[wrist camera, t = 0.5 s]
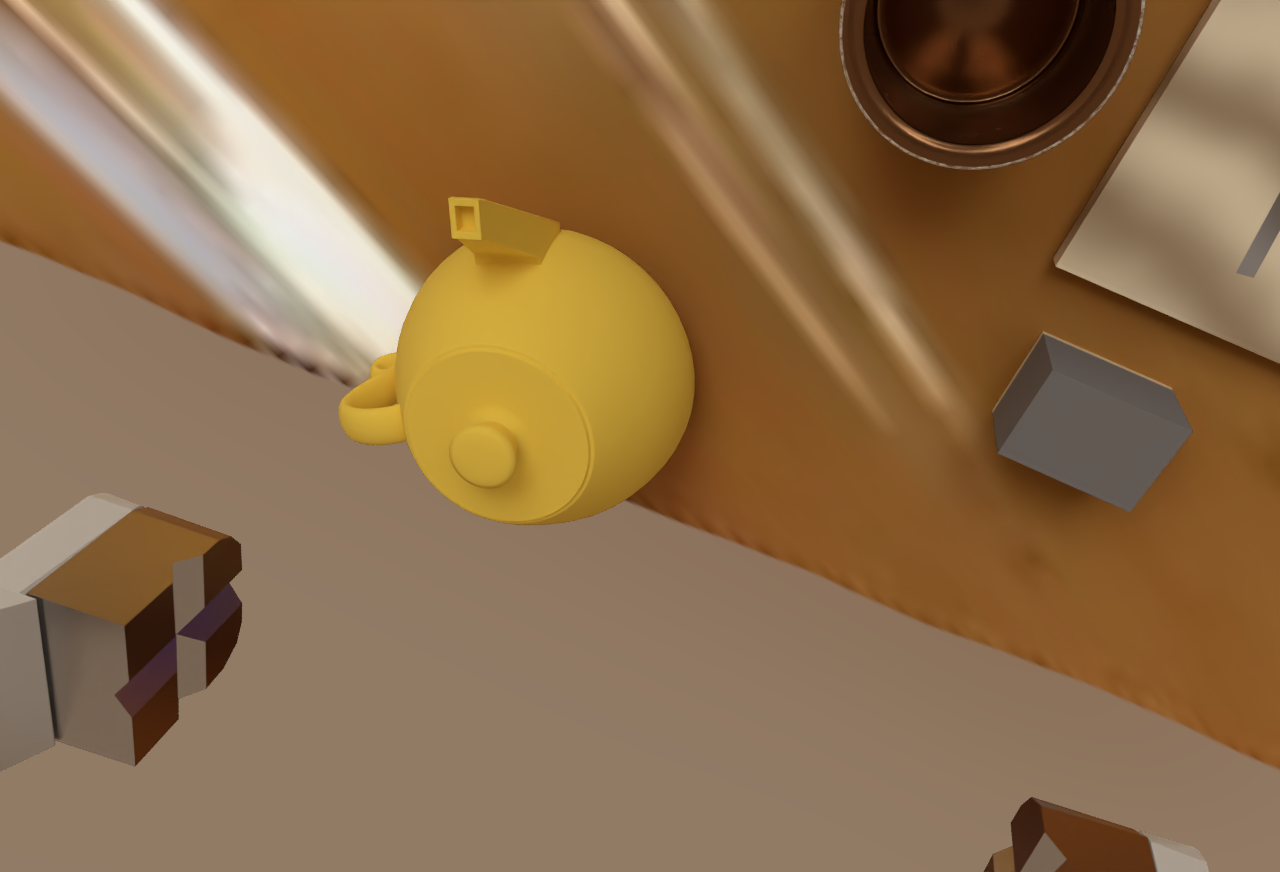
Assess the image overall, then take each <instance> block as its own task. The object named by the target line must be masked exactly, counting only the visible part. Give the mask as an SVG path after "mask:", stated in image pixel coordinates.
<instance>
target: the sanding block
mask: <svg viewBox="0 0 1280 872" xmlns="http://www.w3.org/2000/svg"><path fill="white" fill-rule="evenodd" d="M992 413H993V421H994V429H995V437H996V445H997V453H998V454H1000V455H1002V456H1004V457H1006V458H1009V459H1011V460H1013V461H1015V462H1018V463H1020V464H1022V465H1025V466H1027V467H1029V468H1031V469H1034V470H1036V471H1038V472H1040V473H1043V474H1045V475H1047V476H1049V477H1052V478H1054V479H1056V480H1058V481H1061V482H1063V483H1065V484H1067V485H1070V486H1072V487H1074V488H1076V489H1079V490H1081V491H1083V492H1085V493H1088V494H1090V495H1092V496H1094V497H1097V498H1099V499H1101V500H1103V501H1106V502H1108V503H1110V504H1112V505H1115V506H1117V507H1119V508H1121V509H1124V510H1126V511H1128V512H1131V510H1132V509H1133V508H1134V507H1135V505H1136V504H1137V503H1138V501H1139V500H1140V499H1141V498H1142V496H1143V495H1144V494H1145V492H1146V491H1147V490H1148V489H1149V487H1150V486H1151V485H1152V483H1153V482H1154V481H1155V480H1156V478H1157V477H1158V476H1159V474H1160V473H1161V472H1162V471H1163V469H1164V468H1165V467H1166V465H1167V464H1168V463H1169V462H1170V460H1171V459H1172V458H1173V456H1174V455H1175V454H1176V453H1177V451H1178V450H1179V449H1180V447H1181V446H1182V445H1183V444H1184V442H1185V441H1186V440H1187V438H1188V437H1189V436H1190V435H1191V433H1192V432H1193V431H1192V429H1191V427H1190V425H1189V423H1188V420H1187V418H1186V416H1185V414H1184V412H1183V410H1182V408H1181V406H1180V404H1179V402H1178V400H1177V398H1176V396H1175V394H1174V392H1173V390H1172V388H1171V387H1170V386H1167V385H1165V384H1163V383H1160V382H1158V381H1156V380H1154V379H1151V378H1149V377H1147V376H1144V375H1142V374H1140V373H1138V372H1135V371H1133V370H1131V369H1128V368H1126V367H1124V366H1122V365H1119V364H1117V363H1115V362H1112V361H1110V360H1108V359H1106V358H1103V357H1101V356H1099V355H1096V354H1094V353H1092V352H1090V351H1087V350H1085V349H1083V348H1081V347H1078V346H1076V345H1074V344H1071V343H1069V342H1067V341H1065V340H1062V339H1060V338H1058V337H1055V336H1053V335H1051V334H1049V333H1046V332H1044V331H1042V333H1041V334H1040V336H1039V338H1038V339H1037V341H1036V342H1035V344H1034V345H1033V347H1032V349H1031V350H1030V352H1029V353H1028V355H1027V356H1026V358H1025V360H1024V361H1023V363H1022V364H1021V366H1020V367H1019V369H1018V370H1017V372H1016V374H1015V375H1014V377H1013V378H1012V380H1011V381H1010V383H1009V385H1008V386H1007V388H1006V389H1005V391H1004V392H1003V394H1002V396H1001V397H1000V399H999V400H998V402H997V403H996V405H995V406H994V408H993V410H992Z"/></svg>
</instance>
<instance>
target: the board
mask: <svg viewBox="0 0 1280 872" xmlns="http://www.w3.org/2000/svg"><path fill="white" fill-rule="evenodd" d="M1053 261H1054V263H1055V266H1056V267H1058V268H1060V269H1063V270H1065V271H1067V272H1070V273H1072V274H1074V275H1076V276H1079V277H1081V278H1083V279H1086V280H1088V281H1090V282H1093V283H1095V284H1097V285H1099V286H1102V287H1104V288H1106V289H1109V290H1111V291H1113V292H1116V293H1118V294H1120V295H1122V296H1125V297H1127V298H1129V299H1132V300H1134V301H1136V302H1139V303H1141V304H1143V305H1145V306H1148V307H1150V308H1152V309H1155V310H1157V311H1159V312H1162V313H1164V314H1166V315H1169V316H1171V317H1173V318H1175V319H1178V320H1180V321H1182V322H1185V323H1187V324H1189V325H1192V326H1194V327H1196V328H1198V329H1201V330H1203V331H1205V332H1208V333H1210V334H1212V335H1215V336H1217V337H1219V338H1221V339H1224V340H1226V341H1228V342H1231V343H1233V344H1235V345H1238V346H1240V347H1242V348H1244V349H1247V350H1249V351H1251V352H1254V353H1256V354H1258V355H1261V356H1263V357H1265V358H1267V359H1270V360H1272V361H1274V362H1277V363H1279V364H1280V0H1212V1H1211V3H1210V5H1209V6H1208V8H1207V10H1206V11H1205V13H1204V14H1203V16H1202V18H1201V19H1200V21H1199V23H1198V24H1197V26H1196V27H1195V29H1194V31H1193V32H1192V34H1191V36H1190V37H1189V39H1188V40H1187V42H1186V44H1185V45H1184V47H1183V48H1182V50H1181V52H1180V53H1179V55H1178V57H1177V58H1176V60H1175V61H1174V63H1173V65H1172V66H1171V68H1170V70H1169V71H1168V73H1167V74H1166V76H1165V78H1164V79H1163V81H1162V83H1161V84H1160V86H1159V87H1158V89H1157V91H1156V92H1155V94H1154V95H1153V97H1152V99H1151V100H1150V102H1149V104H1148V105H1147V107H1146V108H1145V110H1144V112H1143V113H1142V115H1141V117H1140V118H1139V120H1138V121H1137V123H1136V125H1135V126H1134V128H1133V129H1132V131H1131V133H1130V134H1129V136H1128V138H1127V139H1126V141H1125V142H1124V144H1123V146H1122V147H1121V149H1120V151H1119V152H1118V154H1117V155H1116V157H1115V159H1114V160H1113V162H1112V164H1111V165H1110V167H1109V168H1108V170H1107V172H1106V173H1105V175H1104V176H1103V178H1102V180H1101V181H1100V183H1099V185H1098V186H1097V188H1096V189H1095V191H1094V193H1093V194H1092V196H1091V198H1090V199H1089V201H1088V202H1087V204H1086V206H1085V207H1084V209H1083V211H1082V212H1081V214H1080V215H1079V217H1078V219H1077V220H1076V222H1075V223H1074V225H1073V227H1072V228H1071V230H1070V232H1069V233H1068V235H1067V236H1066V238H1065V240H1064V241H1063V243H1062V245H1061V246H1060V248H1059V249H1058V251H1057V253H1056V254H1055V256H1054V258H1053Z"/></svg>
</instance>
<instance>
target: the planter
mask: <svg viewBox="0 0 1280 872" xmlns="http://www.w3.org/2000/svg"><path fill="white" fill-rule="evenodd" d="M1144 9H1145V0H842V5H841V12H840V21H839V46H840V55H841V62H842V66H843V70H844V74H845V77H846V81H847V84H848V86H849V89H850V91H851V94H852V96H853V98H854V100H855V102H856V103H857V105H858V107H859V108H860V110H861V112H862V113H863V114H864V116H865V117H866V119H867V120H868V121H869V122H870V124H871V125H872V126H873V127H874V128H875V129H876V130H877V131H878V132H879V133H880V134H881V135H882V136H883V137H884V138H885V139H886V140H888V141H889V142H890V143H891V144H893V145H894V146H896V147H897V148H899V149H900V150H902V151H904V152H905V153H907V154H909V155H911V156H913V157H915V158H917V159H920V160H922V161H925V162H927V163H931V164H934V165H938V166H942V167H947V168H954V169H965V170H982V169H992V168H998V167H1004V166H1008V165H1012V164H1016V163H1019V162H1022V161H1025V160H1028V159H1030V158H1033V157H1035V156H1038V155H1040V154H1042V153H1044V152H1046V151H1048V150H1050V149H1052V148H1053V147H1055V146H1057V145H1059V144H1060V143H1062V142H1063V141H1065V140H1066V139H1068V138H1069V137H1070V136H1072V135H1073V134H1074V133H1076V132H1077V131H1078V130H1079V129H1081V128H1082V127H1083V126H1084V125H1085V124H1086V123H1087V122H1088V121H1089V120H1090V119H1091V118H1092V117H1093V116H1094V115H1095V114H1096V113H1097V112H1098V111H1099V110H1100V109H1101V108H1102V106H1103V105H1104V104H1105V103H1106V102H1107V100H1108V99H1109V98H1110V96H1111V95H1112V94H1113V92H1114V91H1115V89H1116V88H1117V86H1118V85H1119V83H1120V81H1121V80H1122V78H1123V76H1124V74H1125V72H1126V70H1127V68H1128V66H1129V64H1130V62H1131V60H1132V57H1133V55H1134V52H1135V49H1136V47H1137V43H1138V40H1139V36H1140V33H1141V28H1142V23H1143V17H1144Z"/></svg>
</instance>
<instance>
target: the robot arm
mask: <svg viewBox="0 0 1280 872" xmlns="http://www.w3.org/2000/svg"><path fill="white" fill-rule="evenodd" d="M241 570H242V559H241V544H240V543H239V542H238V541H236V540H235V539H234V538H232V537H231V536H228V535H226V534H223V533H220V532H217V531H214V530H212V529H209V528H206V527H203V526H200V525H197V524H195V523H192V522H189V521H186V520H183V519H180V518H178V517H175V516H172V515H169V514H166V513H163V512H161V511H158V510H155V509H152V508H149V507H147V508H145V507H143V506H140V505H137V504H134V503H132V502H129V501H126V500H123V499H121V498H118V497H115V496H112V495H110V494H107V493H102V494H96V495H90V496H88V497H86V498H85V499H83V500H82V501H81V502H79V503H78V504H76V505H75V506H74V507H72V508H71V509H69V510H68V511H67V512H65V513H64V514H62V515H61V516H60V517H58V518H57V519H55V520H54V521H53V522H51V523H50V524H48V525H47V526H45V527H44V528H43V529H41V530H40V531H38V532H37V533H36V534H34V535H33V536H31V537H30V538H29V539H27V540H26V541H24V542H23V543H22V544H20V545H19V546H18V547H16V548H14V549H13V550H12V551H10V552H9V553H7V554H6V555H5V556H3V557H2V558H0V772H1V771H3V770H5V769H7V768H9V767H11V766H13V765H15V764H18V763H20V762H22V761H24V760H26V759H28V758H30V757H32V756H34V755H36V754H39V753H41V752H43V751H45V750H47V749H49V748H51V747H53V746H55V741H58V742H62V743H65V744H67V745H71V746H74V747H77V748H80V749H83V750H86V751H89V752H92V753H95V754H99V755H101V756H104V757H107V758H111V759H114V760H117V761H120V762H123V763H126V764H129V765H132V766H136V765H137V764H138V763H139V762H140V761H141V760H142V759H143V757H144V756H145V755H146V754H147V753H148V752H149V751H150V750H151V749H152V748H153V747H154V745H155V744H156V743H157V742H158V741H159V740H160V739H161V738H162V737H163V736H164V735H165V733H166V732H167V731H168V730H169V729H170V728H171V727H172V726H173V725H174V723H176V721H177V720H178V719H179V714H178V713H179V705H178V704H179V699H180V698H182V697H185V696H188V695H190V694H193V693H196V692H198V691H201V690H204V689H206V688H207V687H208V686H209V685H210V684H211V682H212V681H213V680H214V679H215V678H216V677H217V676H218V674H219V673H220V672H221V671H222V670H223V668H224V666H225V665H226V663H227V661H228V659H229V657H230V655H231V653H232V651H233V649H234V647H235V645H236V644H237V640H238V636H239V632H240V627H241V623H242V602H241V601H240V600H239V598H238V596H237V595H236V593H235V591H234V590H233V588H232V587H231V585H230V583H229V582H230V581H231V580H232V579H233V578H234V577H235V576H236V575H237V574H238V573H239V572H240V571H241ZM1011 832H1012V843H1013V846H1011V847H1009V848H1006V849H1004V850H1001V851H999V852H996V853H994V854H993V855H992V857H991V859H990V861H989V863H988V865H987V866H986V868H985V870H984V872H1209V870H1208V867H1207V863H1206V860H1205V858H1204V857H1203V856H1202V854H1201V853H1200V852H1199V851H1198V850H1197V849H1196V848H1194V847H1191V846H1188V845H1185V844H1181V843H1178V842H1175V841H1171V840H1169V839H1165V838H1162V837H1159V836H1155V835H1152V834H1149V833H1146V832H1143V831H1139V832H1137V831H1135V830H1134V829H1131V828H1128V827H1125V826H1122V825H1118V824H1115V823H1112V822H1109V821H1106V820H1103V819H1099V818H1096V817H1093V816H1090V815H1087V814H1083V813H1081V812H1077V811H1074V810H1071V809H1068V808H1065V807H1062V806H1059V805H1055V804H1052V803H1049V802H1046V801H1042V800H1039V799H1036V798H1033V797H1031V798H1029V799H1028V800H1027V801H1026V802H1025V803H1023V804H1022V805H1021V807H1020V808H1019V810H1018V811H1017V813H1016V815H1015V817H1014V818H1013V820H1012V822H1011Z"/></svg>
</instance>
